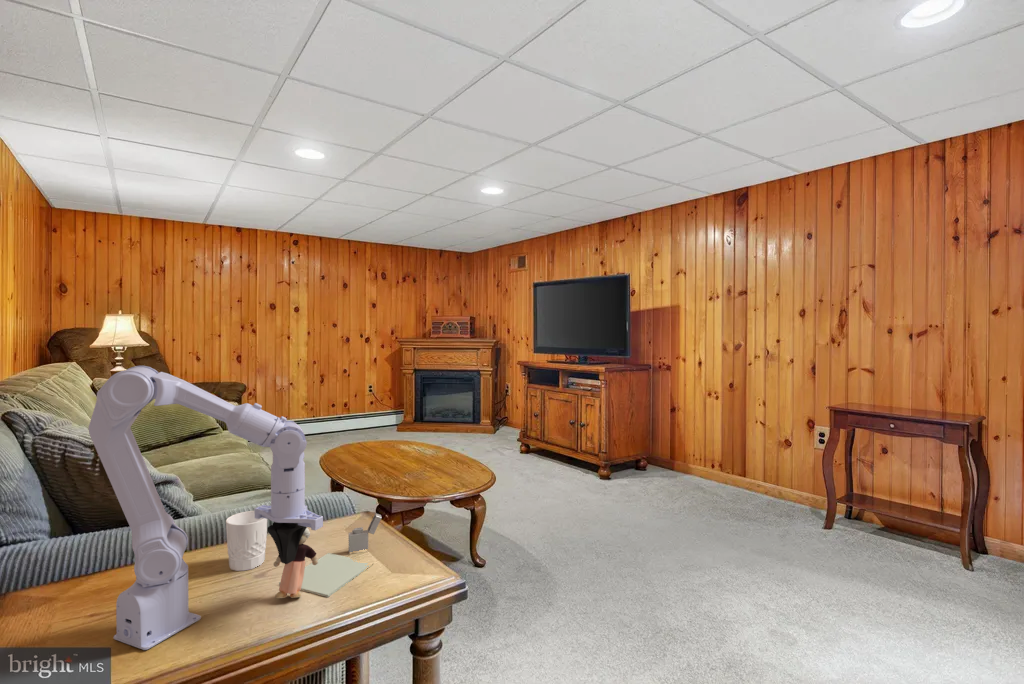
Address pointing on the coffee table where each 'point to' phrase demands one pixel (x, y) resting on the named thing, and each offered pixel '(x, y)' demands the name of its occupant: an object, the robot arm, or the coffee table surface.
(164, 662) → the coffee table surface
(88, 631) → the coffee table surface
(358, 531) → the lighter
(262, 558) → the white cup
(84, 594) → the coffee table surface
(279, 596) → the grandmother figurine
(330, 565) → the mat
